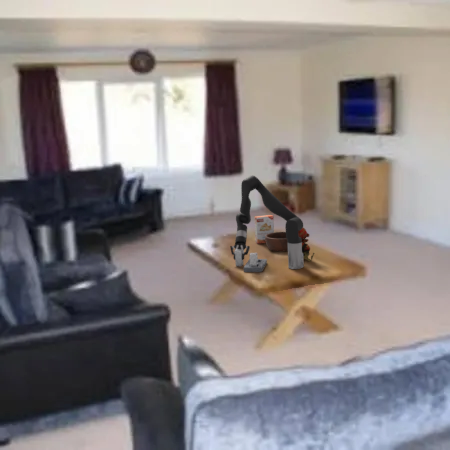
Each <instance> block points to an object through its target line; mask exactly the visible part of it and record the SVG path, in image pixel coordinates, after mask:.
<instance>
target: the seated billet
mask: <svg viewBox="0 0 450 450" xmlns="http://www.w3.org/2000/svg"><path fill="white" fill-rule="evenodd" d="M249 259H250V267H258V259H259V257H258V252H250V253H249Z"/></svg>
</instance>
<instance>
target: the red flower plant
mask: <svg viewBox="0 0 450 450" xmlns="http://www.w3.org/2000/svg"><path fill="white" fill-rule="evenodd" d="M298 235H299V237H301V239H302V253H303V260H307V261H308V262H311V261H312V260H313V259H314V255H315V252H312V255H311V256H310V250H311V246H310V245H309V243H308V242H309V239H308V238H310V233H309V232H308V231H307V229H306V228H305V227H303V228H302V229H301V230H300V231H298ZM309 256H310V258H309Z"/></svg>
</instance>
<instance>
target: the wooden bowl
mask: <svg viewBox="0 0 450 450" xmlns="http://www.w3.org/2000/svg"><path fill="white" fill-rule="evenodd" d="M265 240H266V243H265V244H266V247H267V248H268V249H269V250H270V251H271V252H273V251H274V252H288V241H287V238H286V231H274V233H269V234H267V235H266V236H265Z"/></svg>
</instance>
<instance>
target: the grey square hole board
mask: <svg viewBox="0 0 450 450" xmlns="http://www.w3.org/2000/svg"><path fill="white" fill-rule="evenodd" d="M267 261H268V259H267V258H258V267H250V258H249V259H248V260H247V261H246V264H245V265H243V273H262V272H263V270H264V269H265V267H266V265H267Z"/></svg>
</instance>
